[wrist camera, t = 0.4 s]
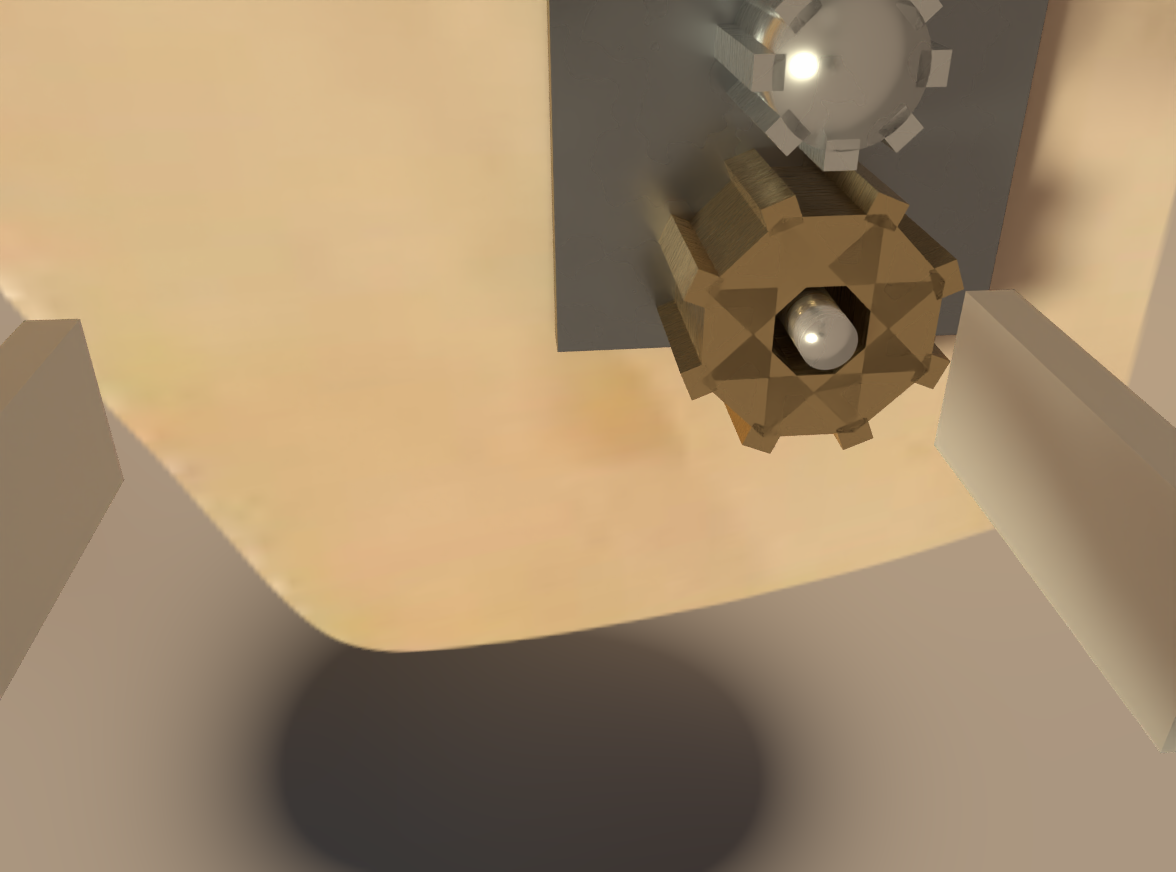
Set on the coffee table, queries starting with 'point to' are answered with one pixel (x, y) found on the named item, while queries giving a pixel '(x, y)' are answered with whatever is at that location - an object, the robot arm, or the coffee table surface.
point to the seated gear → (783, 270)
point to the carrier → (772, 136)
